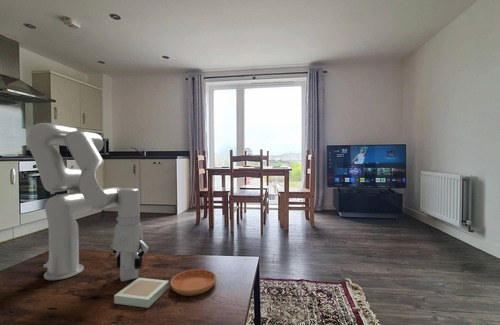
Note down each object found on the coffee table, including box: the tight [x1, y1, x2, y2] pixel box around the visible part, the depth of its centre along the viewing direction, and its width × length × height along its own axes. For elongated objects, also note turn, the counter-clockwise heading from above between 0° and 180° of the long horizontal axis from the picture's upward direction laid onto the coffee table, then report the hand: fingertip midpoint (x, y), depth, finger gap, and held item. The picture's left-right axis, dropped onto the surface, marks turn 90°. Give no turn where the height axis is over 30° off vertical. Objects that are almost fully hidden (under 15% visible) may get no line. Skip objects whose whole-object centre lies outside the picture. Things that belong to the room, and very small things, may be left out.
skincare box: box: [119, 249, 139, 282], centre depth 94 cm, size 6×4×12 cm
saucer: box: [169, 268, 217, 297], centre depth 88 cm, size 16×16×3 cm
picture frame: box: [113, 277, 170, 309], centre depth 82 cm, size 12×12×3 cm
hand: (129, 266), depth 95 cm, fingers closed on skincare box, 7 cm apart
